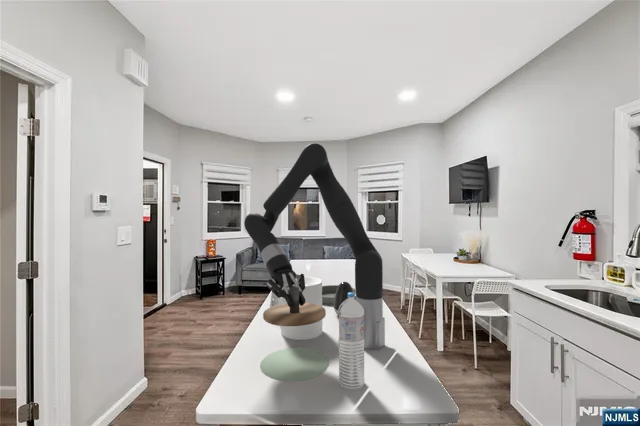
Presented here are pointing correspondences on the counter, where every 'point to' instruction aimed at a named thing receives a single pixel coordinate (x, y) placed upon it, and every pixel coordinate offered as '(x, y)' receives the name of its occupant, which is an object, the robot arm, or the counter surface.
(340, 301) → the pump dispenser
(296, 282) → the robot arm
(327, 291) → the cake pan
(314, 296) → the canister
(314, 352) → the mat
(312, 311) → the lid
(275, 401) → the counter surface
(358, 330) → the water bottle
